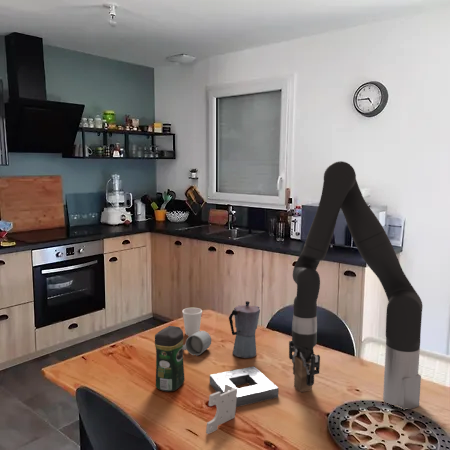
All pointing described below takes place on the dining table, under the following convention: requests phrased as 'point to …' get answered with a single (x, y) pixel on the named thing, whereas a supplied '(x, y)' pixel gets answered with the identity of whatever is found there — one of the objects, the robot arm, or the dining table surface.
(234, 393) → the bracket
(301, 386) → the tan square peg
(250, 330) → the moka pot
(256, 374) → the square hole plate
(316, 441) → the dining table surface
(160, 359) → the coffee jar
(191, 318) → the dixie cup
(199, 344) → the ceramic mug
